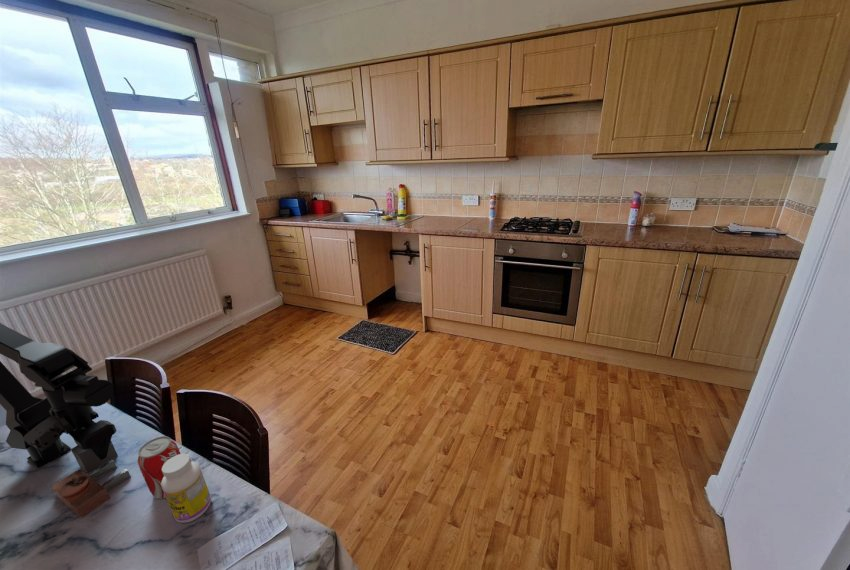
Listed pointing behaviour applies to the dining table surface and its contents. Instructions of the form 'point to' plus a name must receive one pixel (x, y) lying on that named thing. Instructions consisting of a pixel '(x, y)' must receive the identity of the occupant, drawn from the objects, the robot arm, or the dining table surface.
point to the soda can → (156, 462)
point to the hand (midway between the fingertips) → (94, 452)
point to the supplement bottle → (185, 488)
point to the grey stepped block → (92, 458)
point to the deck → (88, 488)
